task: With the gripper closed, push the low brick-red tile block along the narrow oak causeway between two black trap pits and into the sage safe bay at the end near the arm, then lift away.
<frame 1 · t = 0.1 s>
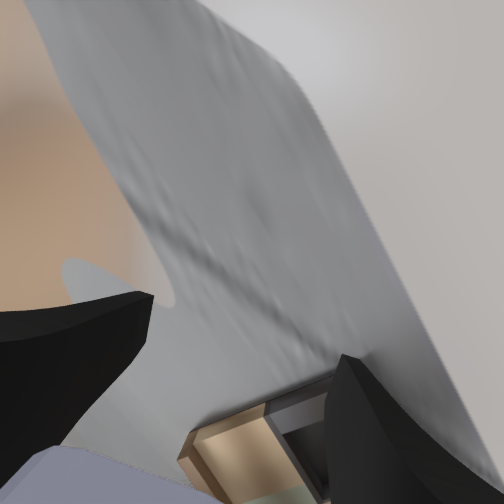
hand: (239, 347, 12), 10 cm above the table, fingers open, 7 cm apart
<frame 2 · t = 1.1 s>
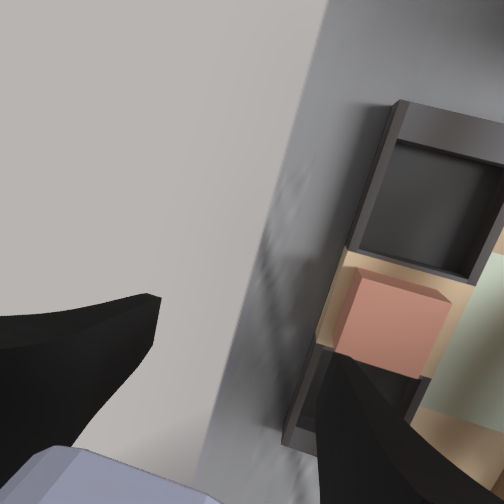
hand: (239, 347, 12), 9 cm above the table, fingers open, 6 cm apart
tile block: (382, 313, 19), point 1 cm above the table, touching trap board
trap board: (442, 322, 20), on the table
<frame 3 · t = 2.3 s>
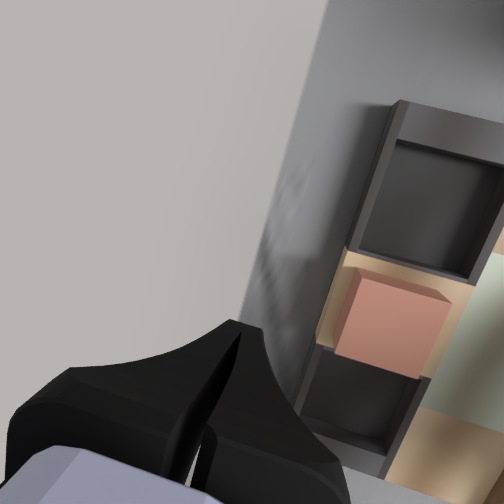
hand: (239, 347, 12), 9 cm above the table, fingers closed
tile block: (382, 313, 19), point 1 cm above the table, touching trap board
trap board: (442, 322, 20), on the table
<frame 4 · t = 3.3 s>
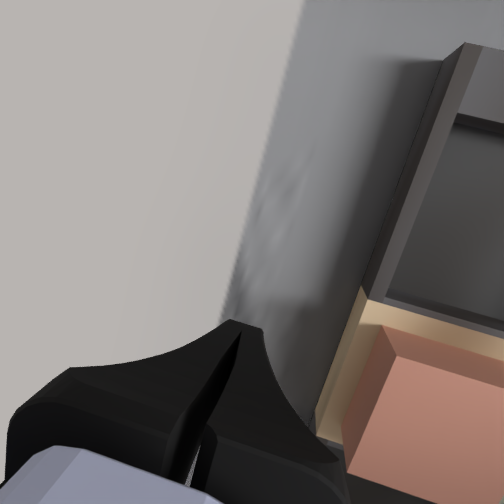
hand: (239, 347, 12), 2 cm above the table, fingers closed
tile block: (421, 397, 12), point 1 cm above the table, touching trap board
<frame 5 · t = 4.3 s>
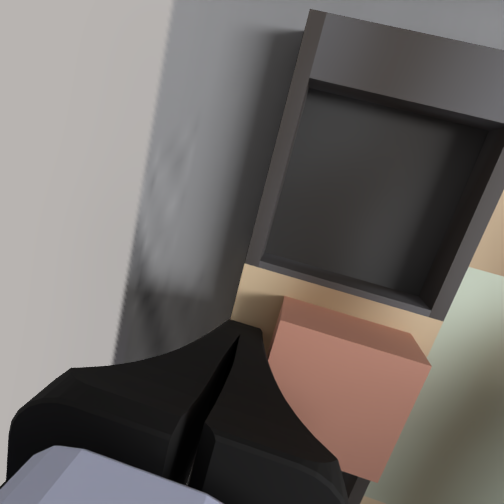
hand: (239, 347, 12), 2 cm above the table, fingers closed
tile block: (327, 367, 12), point 2 cm above the table, touching gripper, trap board
trap board: (399, 370, 13), on the table
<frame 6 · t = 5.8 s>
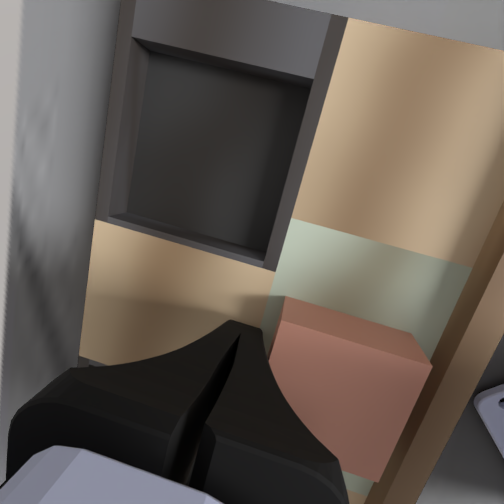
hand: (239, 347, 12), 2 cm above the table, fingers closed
tile block: (327, 367, 12), point 1 cm above the table, touching gripper, trap board
trap board: (260, 326, 14), on the table
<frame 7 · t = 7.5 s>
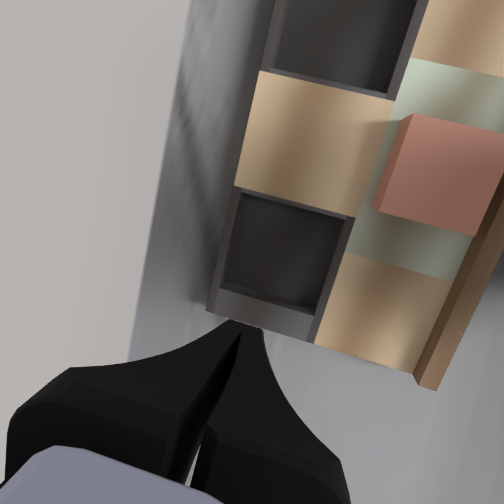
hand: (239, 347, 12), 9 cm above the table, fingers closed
tile block: (429, 175, 17), point 1 cm above the table, touching trap board
trap board: (369, 163, 19), on the table
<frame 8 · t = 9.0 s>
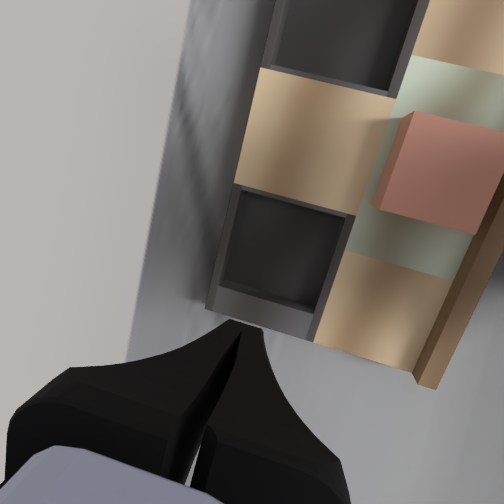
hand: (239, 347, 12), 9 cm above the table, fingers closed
tile block: (430, 174, 17), point 1 cm above the table, touching trap board
trap board: (370, 161, 18), on the table
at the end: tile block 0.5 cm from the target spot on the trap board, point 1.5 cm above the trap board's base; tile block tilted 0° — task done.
